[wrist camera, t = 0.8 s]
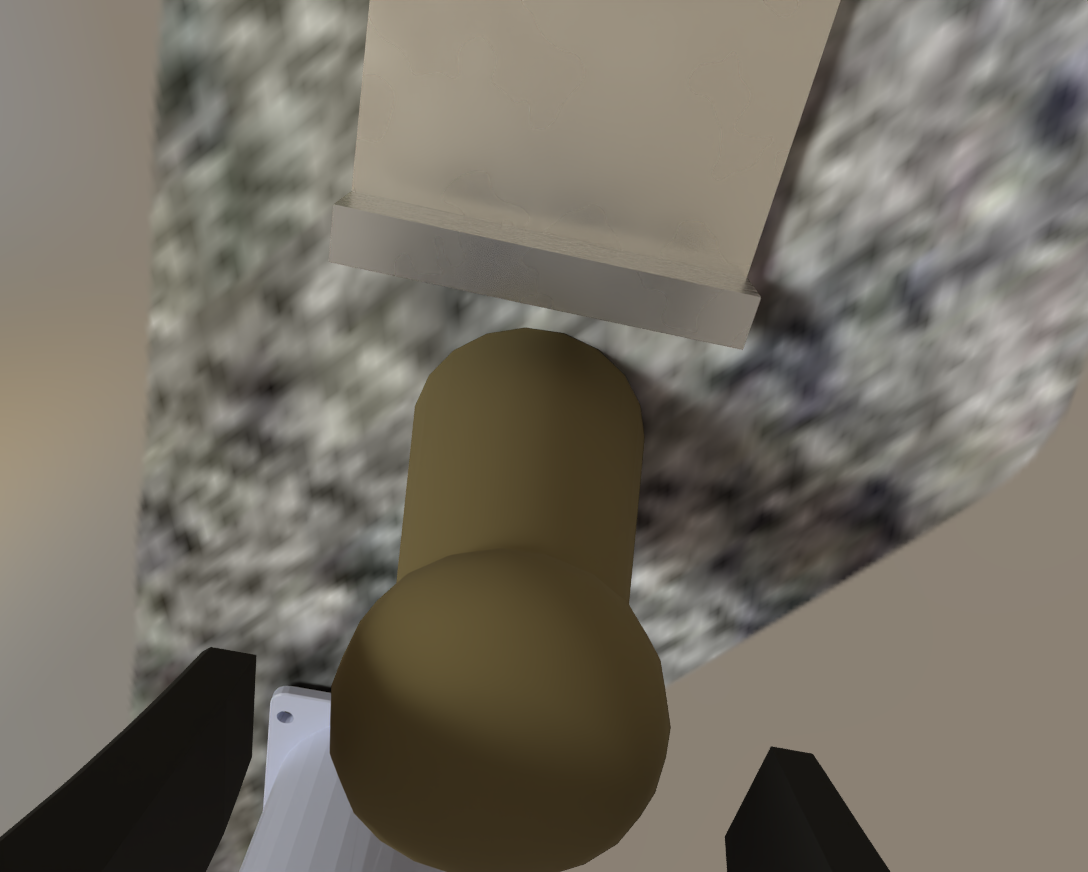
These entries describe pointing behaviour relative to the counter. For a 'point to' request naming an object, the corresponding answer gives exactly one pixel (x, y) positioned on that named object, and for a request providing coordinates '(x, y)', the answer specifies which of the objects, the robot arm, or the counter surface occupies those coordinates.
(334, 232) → the bottom track
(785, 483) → the counter surface
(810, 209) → the counter surface
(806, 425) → the counter surface
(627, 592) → the brown rounded piece
